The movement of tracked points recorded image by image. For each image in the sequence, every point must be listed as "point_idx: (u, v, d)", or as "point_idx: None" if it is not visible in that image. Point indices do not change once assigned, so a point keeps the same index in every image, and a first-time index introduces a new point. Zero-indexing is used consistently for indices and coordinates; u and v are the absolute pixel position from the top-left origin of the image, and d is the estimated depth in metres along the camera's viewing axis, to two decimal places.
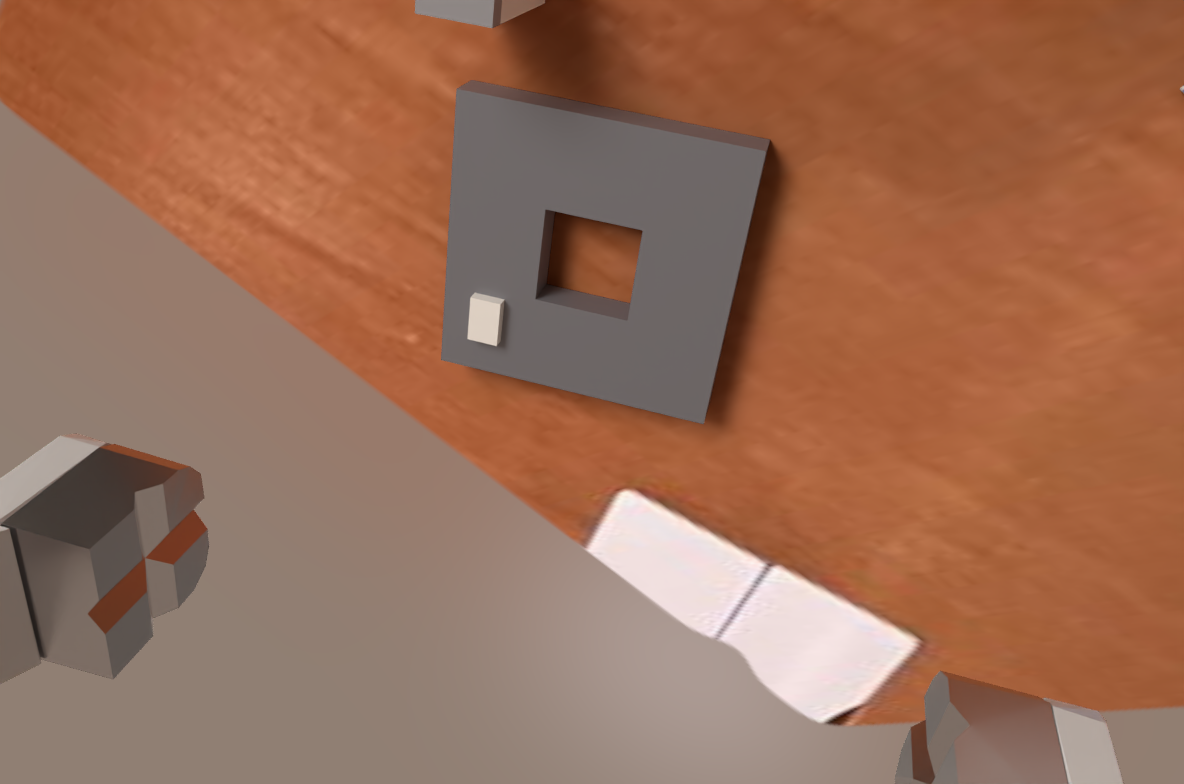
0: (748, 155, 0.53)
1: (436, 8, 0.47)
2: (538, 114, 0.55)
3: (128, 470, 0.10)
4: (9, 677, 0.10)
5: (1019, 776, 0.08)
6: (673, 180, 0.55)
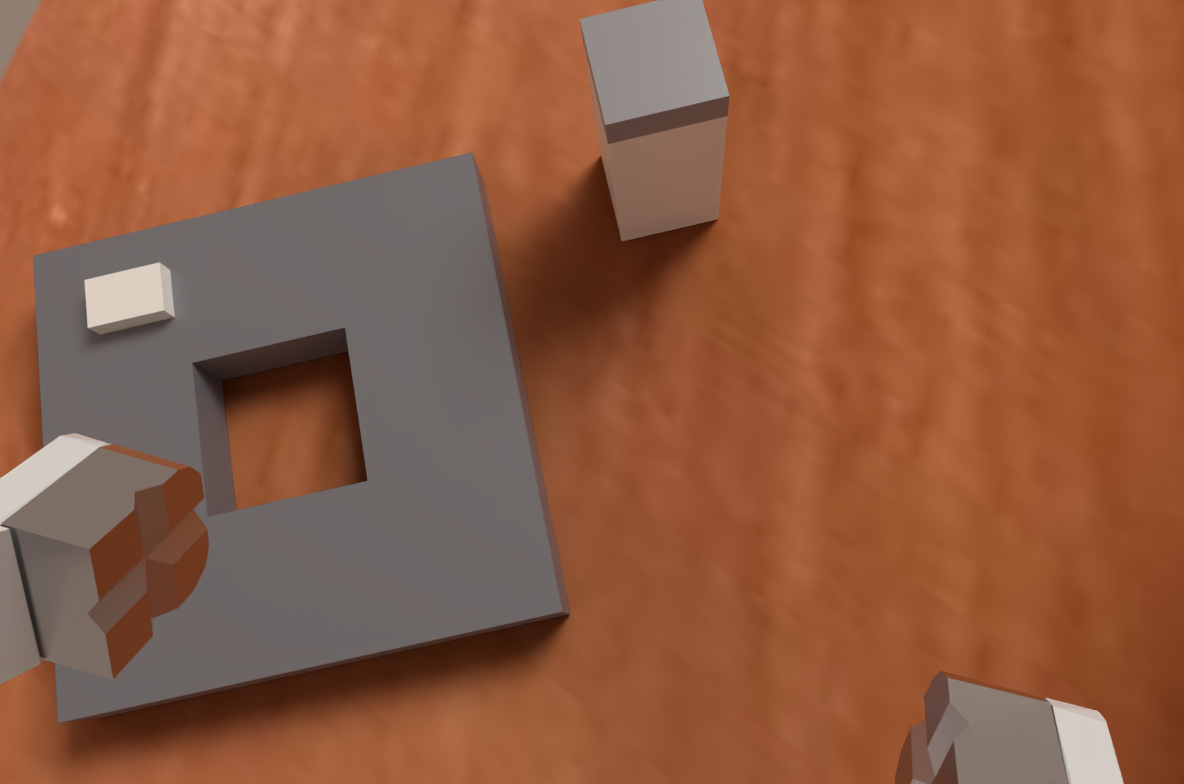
0: (545, 588, 0.33)
1: (598, 44, 0.31)
2: (481, 270, 0.36)
3: (128, 470, 0.10)
4: (9, 677, 0.10)
5: (1019, 777, 0.08)
6: (463, 494, 0.34)
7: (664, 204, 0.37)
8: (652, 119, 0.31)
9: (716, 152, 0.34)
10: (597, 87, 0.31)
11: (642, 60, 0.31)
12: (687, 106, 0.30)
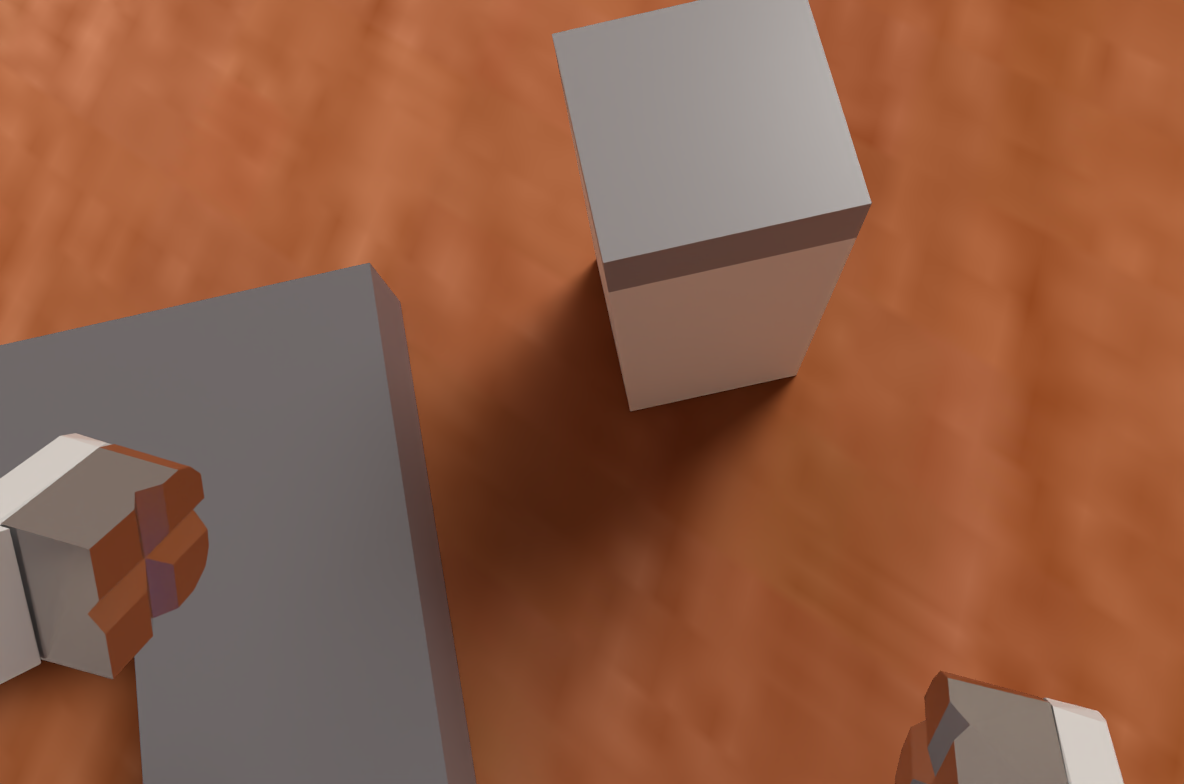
0: None
1: (591, 87, 0.15)
2: (378, 482, 0.20)
3: (128, 470, 0.10)
4: (9, 677, 0.10)
5: (1019, 777, 0.08)
6: None
7: (710, 365, 0.20)
8: (704, 249, 0.14)
9: (818, 292, 0.17)
10: (587, 179, 0.14)
11: (682, 123, 0.15)
12: (780, 224, 0.14)
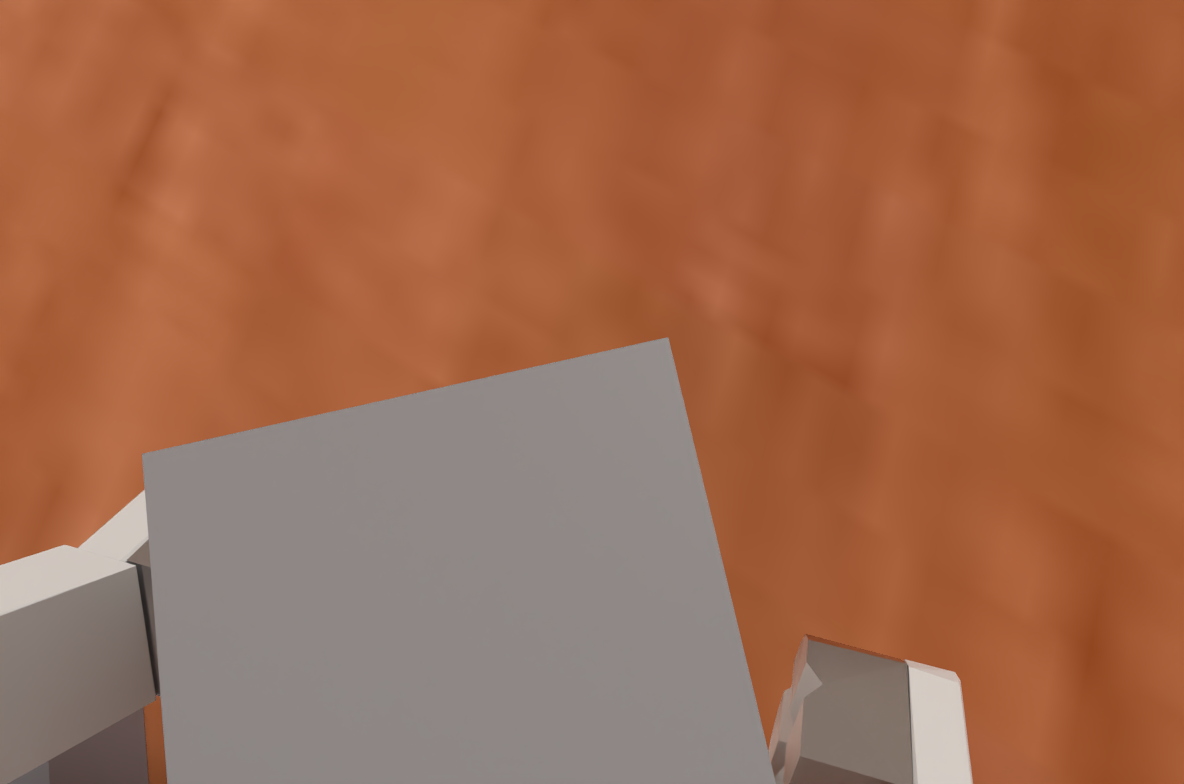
0: None
1: (208, 590, 0.07)
2: None
3: None
4: (126, 714, 0.10)
5: (864, 732, 0.08)
6: None
7: None
8: None
9: None
10: None
11: (397, 690, 0.07)
12: None
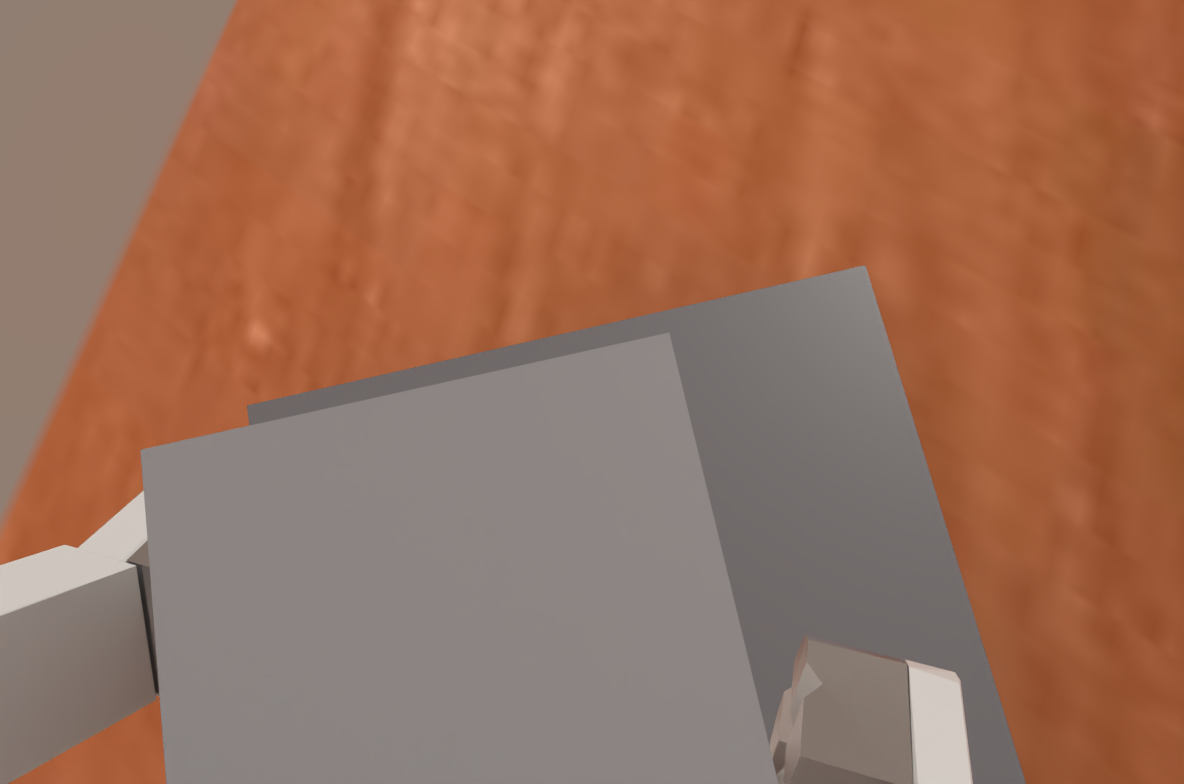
0: None
1: (207, 586, 0.07)
2: (898, 438, 0.26)
3: None
4: (125, 714, 0.10)
5: (864, 732, 0.08)
6: None
7: None
8: None
9: None
10: None
11: (397, 687, 0.07)
12: None
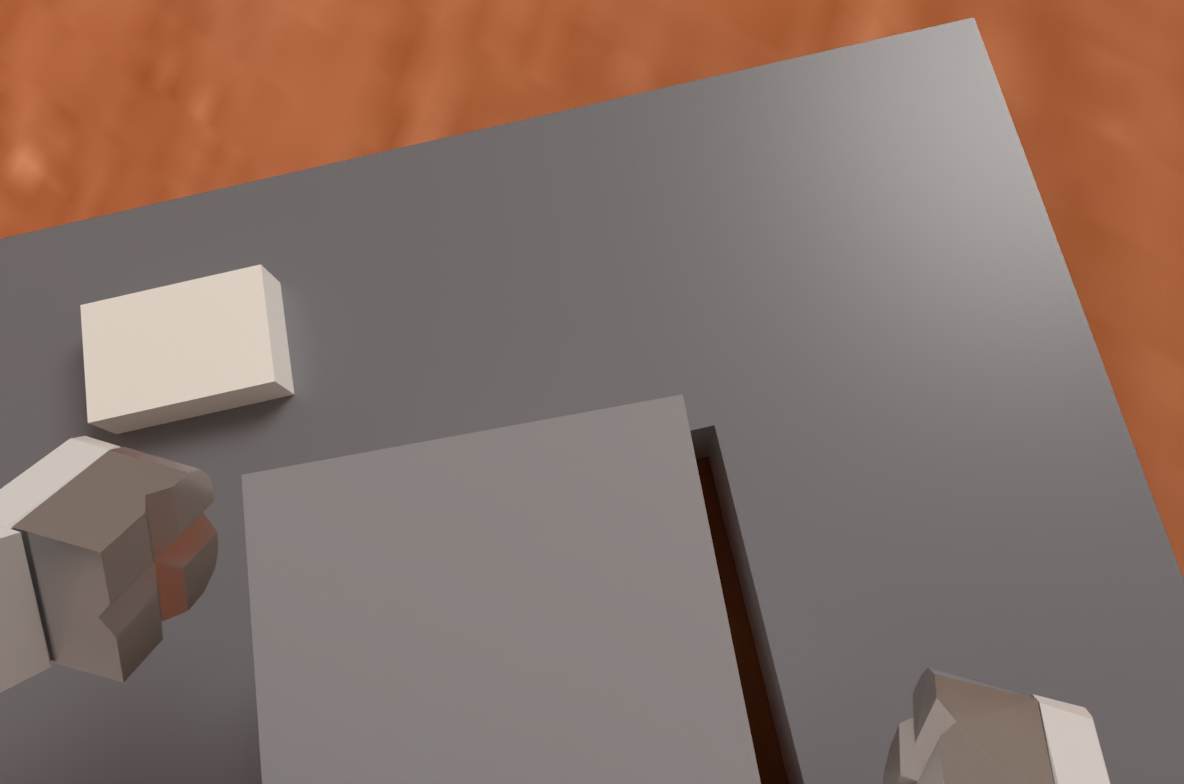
0: None
1: (295, 591, 0.08)
2: (1040, 288, 0.15)
3: (138, 473, 0.10)
4: (20, 681, 0.10)
5: (1005, 772, 0.08)
6: None
7: None
8: None
9: None
10: None
11: (449, 679, 0.08)
12: None
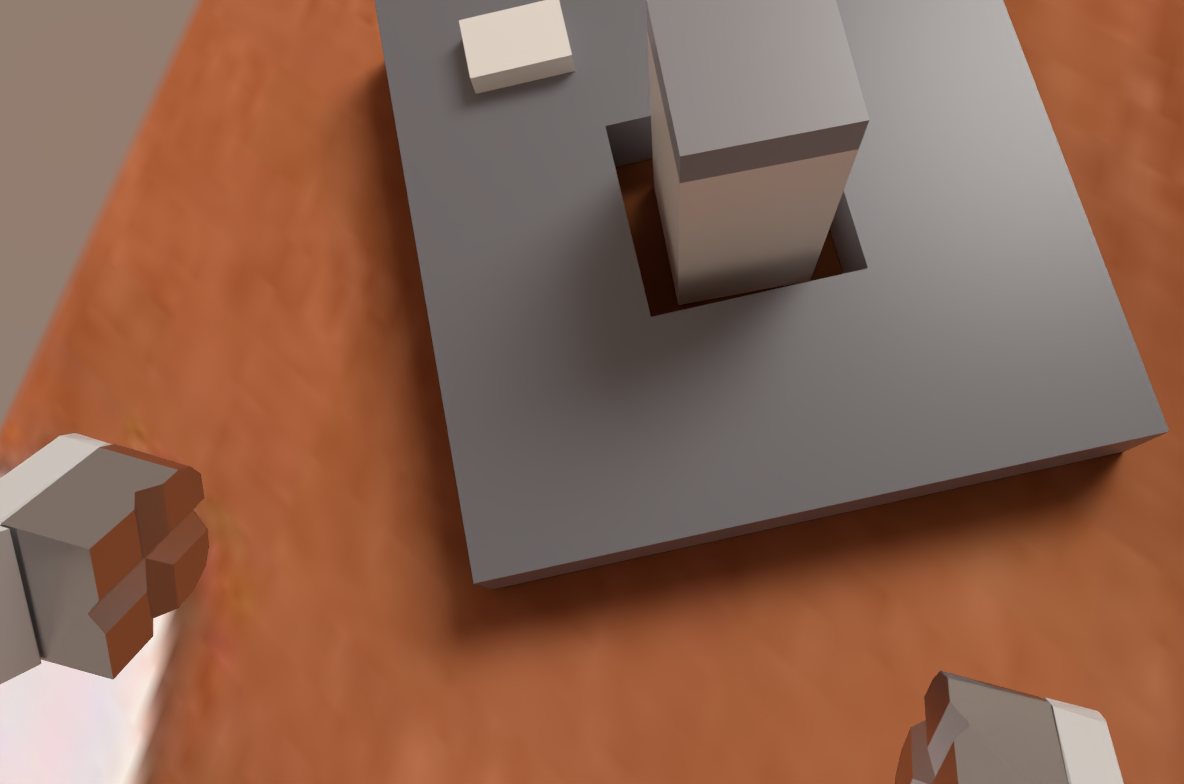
0: (1139, 401, 0.24)
1: (673, 35, 0.21)
2: (986, 6, 0.28)
3: (128, 470, 0.10)
4: (9, 677, 0.10)
5: (1019, 776, 0.08)
6: (1004, 283, 0.26)
7: (744, 263, 0.26)
8: (750, 150, 0.20)
9: (830, 197, 0.23)
10: (669, 99, 0.21)
11: (738, 61, 0.21)
12: (804, 133, 0.20)
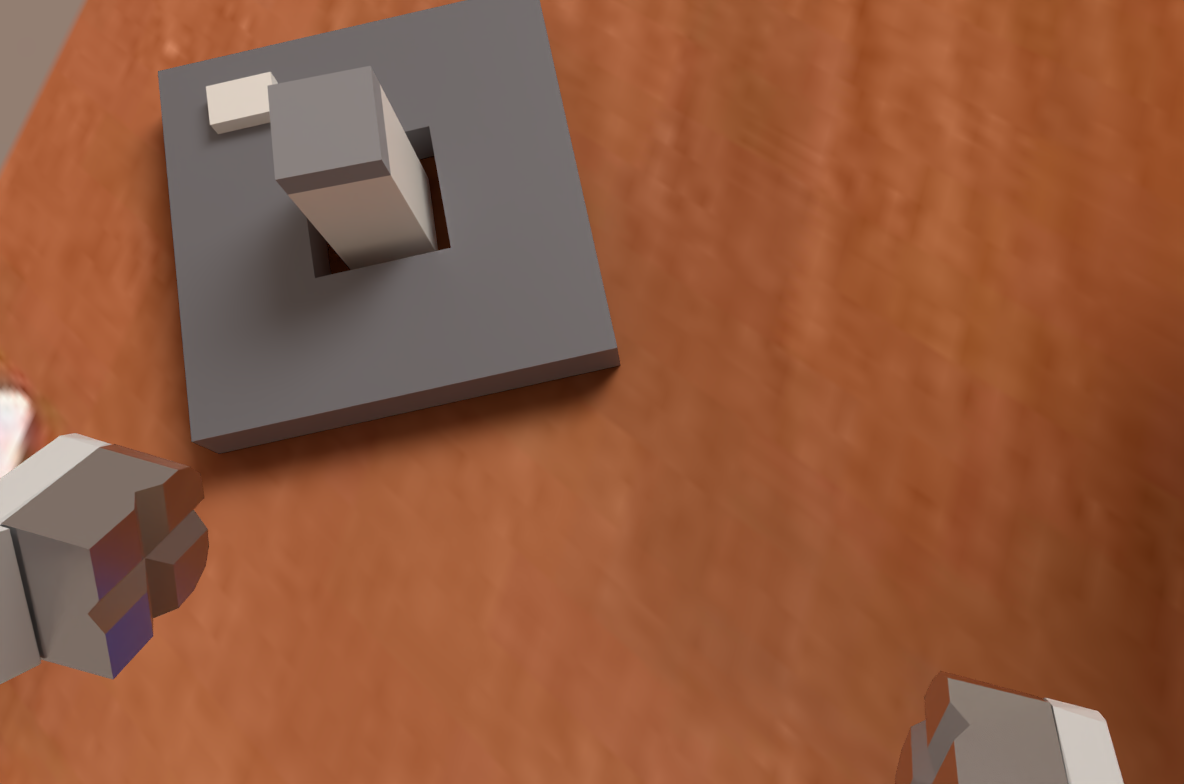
0: (602, 329, 0.40)
1: (279, 108, 0.36)
2: (545, 79, 0.43)
3: (128, 470, 0.10)
4: (9, 677, 0.10)
5: (1019, 777, 0.08)
6: (532, 257, 0.41)
7: (377, 244, 0.42)
8: (318, 176, 0.35)
9: (399, 203, 0.38)
10: (273, 146, 0.36)
11: (314, 124, 0.36)
12: (346, 167, 0.35)
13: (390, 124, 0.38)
